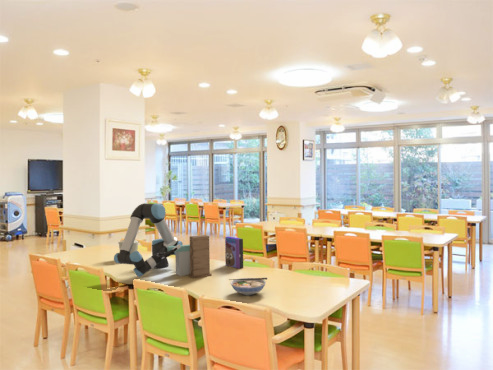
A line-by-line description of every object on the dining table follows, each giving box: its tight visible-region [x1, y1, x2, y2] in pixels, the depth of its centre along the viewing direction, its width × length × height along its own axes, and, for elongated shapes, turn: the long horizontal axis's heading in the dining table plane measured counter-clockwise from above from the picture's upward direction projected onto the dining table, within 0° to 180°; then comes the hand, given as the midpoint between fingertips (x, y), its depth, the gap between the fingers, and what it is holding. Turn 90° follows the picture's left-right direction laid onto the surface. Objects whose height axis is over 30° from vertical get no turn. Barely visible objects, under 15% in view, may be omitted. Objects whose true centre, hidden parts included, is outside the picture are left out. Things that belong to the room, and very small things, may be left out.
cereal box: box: [224, 236, 244, 270], centre depth 335 cm, size 17×5×24 cm, turn 41°
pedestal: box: [187, 234, 212, 279], centre depth 306 cm, size 9×15×30 cm, turn 121°
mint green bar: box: [167, 244, 190, 252], centre depth 311 cm, size 4×24×4 cm, turn 121°
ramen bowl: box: [228, 277, 268, 296], centre depth 257 cm, size 25×23×8 cm
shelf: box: [174, 251, 190, 277], centre depth 314 cm, size 8×20×18 cm, turn 121°
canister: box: [117, 239, 140, 254], centre depth 368 cm, size 18×18×21 cm
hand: (176, 244), depth 309 cm, fingers open, 13 cm apart
